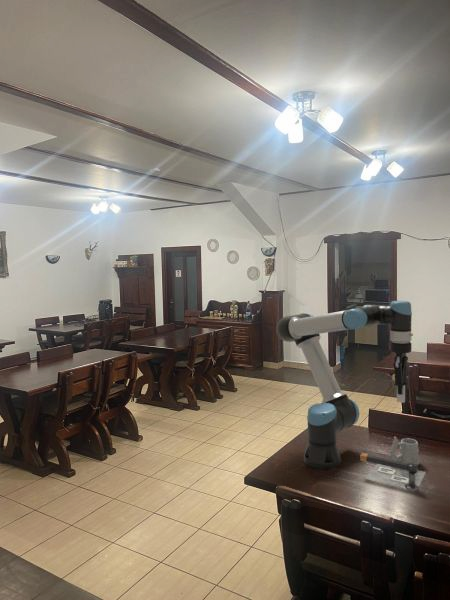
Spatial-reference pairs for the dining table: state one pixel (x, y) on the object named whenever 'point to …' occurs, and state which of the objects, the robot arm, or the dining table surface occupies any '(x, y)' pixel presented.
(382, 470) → the label left
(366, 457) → the grey lever orange grip
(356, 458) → the dining table surface
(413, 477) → the grey metal knob
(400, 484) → the plate
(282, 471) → the dining table surface
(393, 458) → the mug
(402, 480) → the label right
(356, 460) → the dining table surface
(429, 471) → the dining table surface
